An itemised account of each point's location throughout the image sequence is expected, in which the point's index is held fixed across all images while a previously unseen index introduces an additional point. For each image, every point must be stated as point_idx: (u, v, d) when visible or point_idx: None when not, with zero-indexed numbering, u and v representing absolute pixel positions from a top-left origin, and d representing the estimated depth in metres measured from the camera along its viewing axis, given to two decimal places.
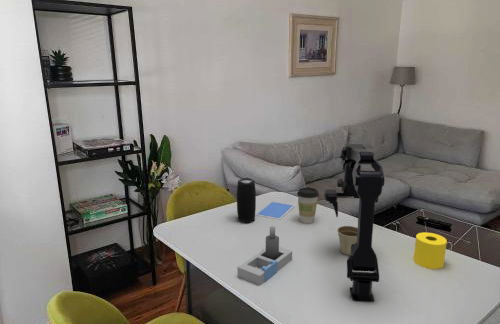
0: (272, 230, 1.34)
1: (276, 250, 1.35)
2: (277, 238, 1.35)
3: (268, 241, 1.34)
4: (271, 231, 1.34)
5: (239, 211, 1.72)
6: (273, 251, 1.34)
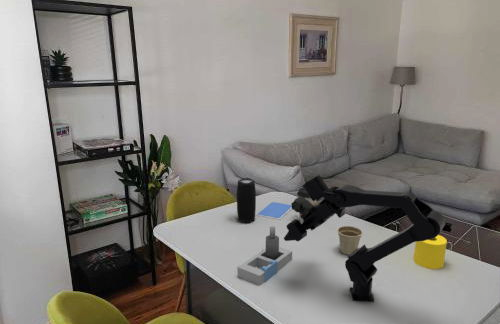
0: (272, 230, 1.34)
1: (276, 250, 1.35)
2: (277, 238, 1.35)
3: (268, 241, 1.34)
4: (271, 231, 1.34)
5: (239, 211, 1.72)
6: (273, 251, 1.34)
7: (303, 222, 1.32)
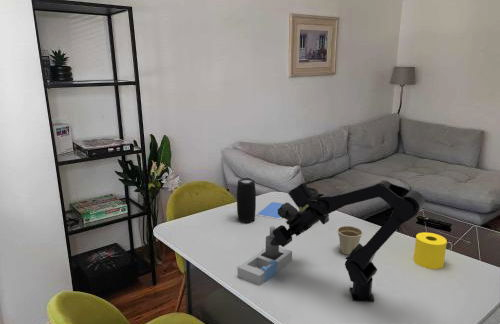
0: (272, 230, 1.34)
1: (276, 250, 1.35)
2: None
3: (268, 241, 1.34)
4: (271, 231, 1.34)
5: (239, 211, 1.72)
6: (273, 251, 1.34)
7: (289, 227, 1.36)
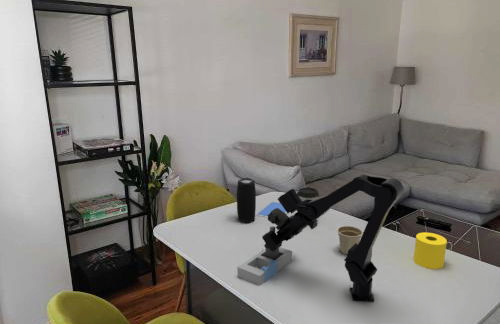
0: (272, 230, 1.34)
1: (276, 250, 1.35)
2: None
3: None
4: None
5: (239, 211, 1.72)
6: None
7: (277, 234, 1.37)
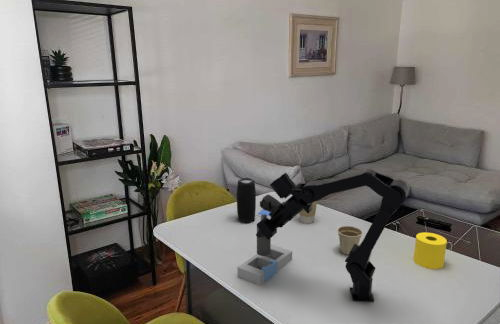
0: None
1: None
2: None
3: None
4: None
5: (239, 211, 1.72)
6: (265, 240, 1.29)
7: None
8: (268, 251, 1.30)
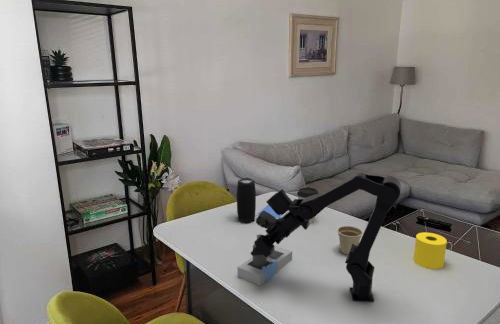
0: None
1: (265, 259, 1.29)
2: None
3: None
4: None
5: (239, 211, 1.72)
6: (262, 260, 1.28)
7: None
8: None
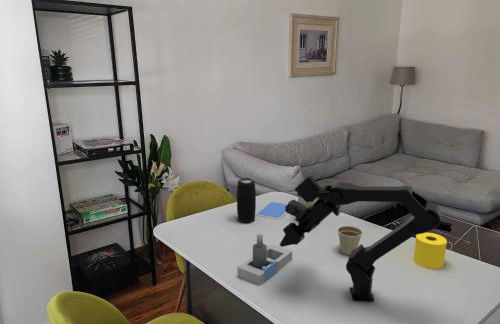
0: (260, 238, 1.27)
1: (265, 259, 1.29)
2: (265, 246, 1.29)
3: (256, 250, 1.27)
4: (259, 239, 1.28)
5: (239, 211, 1.72)
6: (262, 260, 1.28)
7: None
8: None
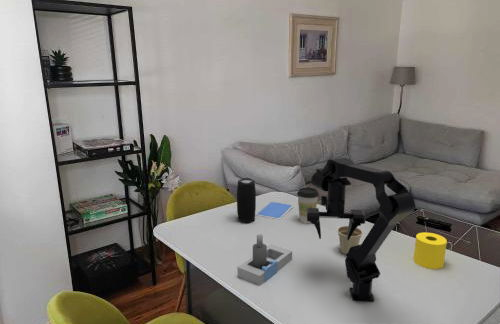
0: (260, 238, 1.27)
1: (265, 259, 1.29)
2: (265, 246, 1.29)
3: (256, 250, 1.27)
4: (259, 239, 1.28)
5: (239, 211, 1.72)
6: (261, 260, 1.28)
7: (348, 228, 1.27)
8: None
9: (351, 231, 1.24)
